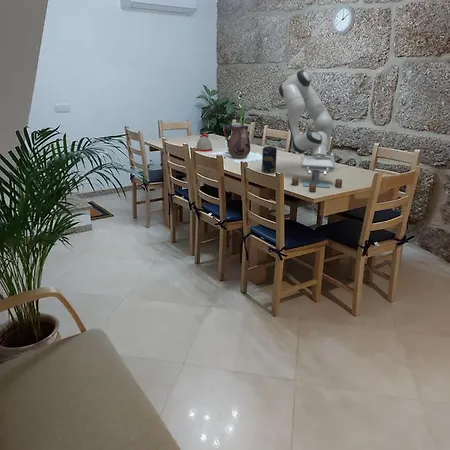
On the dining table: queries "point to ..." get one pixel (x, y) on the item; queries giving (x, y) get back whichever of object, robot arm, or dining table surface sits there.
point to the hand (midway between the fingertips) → (317, 174)
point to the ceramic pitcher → (238, 141)
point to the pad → (321, 184)
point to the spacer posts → (313, 186)
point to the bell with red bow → (204, 143)
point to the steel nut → (315, 176)
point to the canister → (269, 159)
